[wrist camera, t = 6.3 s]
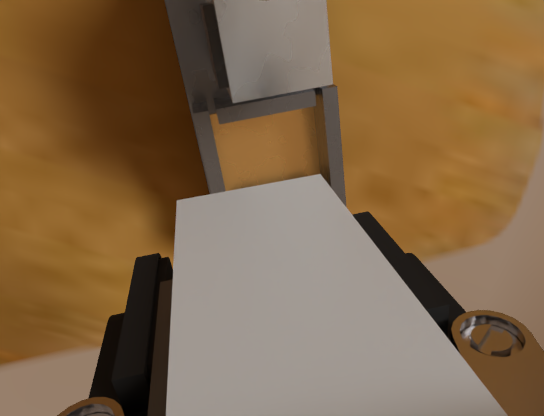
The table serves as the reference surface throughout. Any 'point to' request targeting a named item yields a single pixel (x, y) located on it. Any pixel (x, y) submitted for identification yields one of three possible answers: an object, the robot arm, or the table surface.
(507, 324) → the robot arm
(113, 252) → the table surface
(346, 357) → the pale grey block
